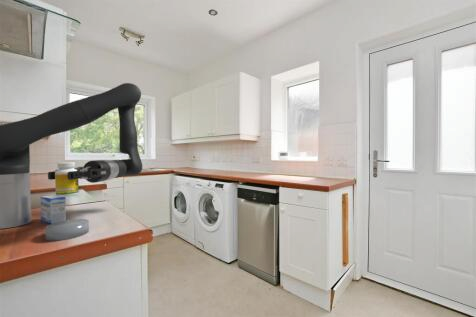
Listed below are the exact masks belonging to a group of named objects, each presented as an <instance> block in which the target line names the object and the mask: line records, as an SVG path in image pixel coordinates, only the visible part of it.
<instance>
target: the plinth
mask: <svg viewBox="0 0 476 317" xmlns="http://www.w3.org/2000/svg"><path fill="white" fill-rule="evenodd" d="M89 224H90V223H89V219H87V218H75V219H66V220H65V221H60V222H56V223H53V224H51V223H49V224H48V225H46V226H45V227H44V229H45V230H44V231H45V232H44V235H45V240H46V241H49V242H58V241H66V240H71V239H75V238H78V237H81V236H84V235H87V234H88V233H89V231H90V228H89V227H90V226H89Z"/></svg>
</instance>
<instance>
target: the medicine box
mask: <svg viewBox="0 0 476 317" xmlns="http://www.w3.org/2000/svg"><path fill="white" fill-rule="evenodd" d="M66 207H67V204H66V197H57V196H56V194H55V195H44V196H40V221H41V222H43V223H48V224H53V223H56V222H60V221H65V220H67V217H66V216H67V212H66V211H67V210H66V209H67V208H66Z"/></svg>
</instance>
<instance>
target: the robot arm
mask: <svg viewBox="0 0 476 317" xmlns="http://www.w3.org/2000/svg"><path fill="white" fill-rule="evenodd" d="M141 97H142V91H141V89H140V87H138V86H137V84H134V83H130V82H125V83H121V84H119V85H117V86H115V87H113V88H111V89H109V90H107V91H104V92H101V93H97V94H94V95H90V96H87V97H84V98H80V99H77V100H74V101H71V102H67V103H64V104H62V105H59V106H57V107H55V108H54V107H53V108H52V109H49V110H47V111H45V112H43V113H41V114H38V115H36V116H33V117H29V118H24V119H21V120H16V121H13V122H9V123H4V124H0V229H8V228H9V229H11V228H15V227H19V226H24V225H27V224H30V223H31V222H32V202H31V200H32V199H31V174H30V173H31V172H30V168H31V167H30V164H31V158H30V157H31V156H30V154H31V153H30V152H31V151H30V149H31V148H30V145H32V144H34V143H36V142H38V141H40V140H42V139H45V138H46V137H50V136H53V135H56V134H61V133H65V132H69V131H72V130H75V129H78V128H81V127H83V126H86V125H88V124H91V123H93V122H95V121H96V120H98V119H100V118H102V117H103V116H105V115H106V114H108V113H110V112H112V111H113V110H116V109H117V111H118V112H117V113H118V119H119V120H118V121H119V123H118V124H119V134H118V135H119V139H118V140H119V152H120V153H121V154H124V155H128V156H129V158H128V159H126V158H125V159H112V160H111V159H98V160H96V159H95V160H89V161H87V162H86V163H84V165H83V166H76V167H74V169H76V170H77V171H71V172H68V173H67V176H68V179H69V180H72V179H78V180H86V181H87V182H88V183H93V184H94V183H99V182H105V181H109V180H113V179H118V178H121V177H123V176H124V177H125V176H137V175H140V174H141V173H142V171H143V162H142V159H141V157H140V153H139V149H138V147H139V146H138V132H137V131H138V130H137V127H136V122H135V112H136V105H137V104H138V103H139V102H140V100H141ZM57 170H58V169H56V170H53V171H48V172H47V179H48V180H50V181H51V180H52V181H53V180H55V172H56V171H57Z"/></svg>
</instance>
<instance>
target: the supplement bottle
mask: <svg viewBox="0 0 476 317" xmlns="http://www.w3.org/2000/svg"><path fill="white" fill-rule="evenodd" d="M74 168H76V162H70V161H69V162H58V163H57V169H56V170H57V171H56V172H55V179H54V181H55V182H54V183H55V195H56V196H57V197H65V198H67V197H73V196H74V197H75V196H78V195H79V194H80V191H79V190H80V189H79V179H72V180H69V179H68V176H67V173H68V172H71V171H77V170H76V169H74Z"/></svg>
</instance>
